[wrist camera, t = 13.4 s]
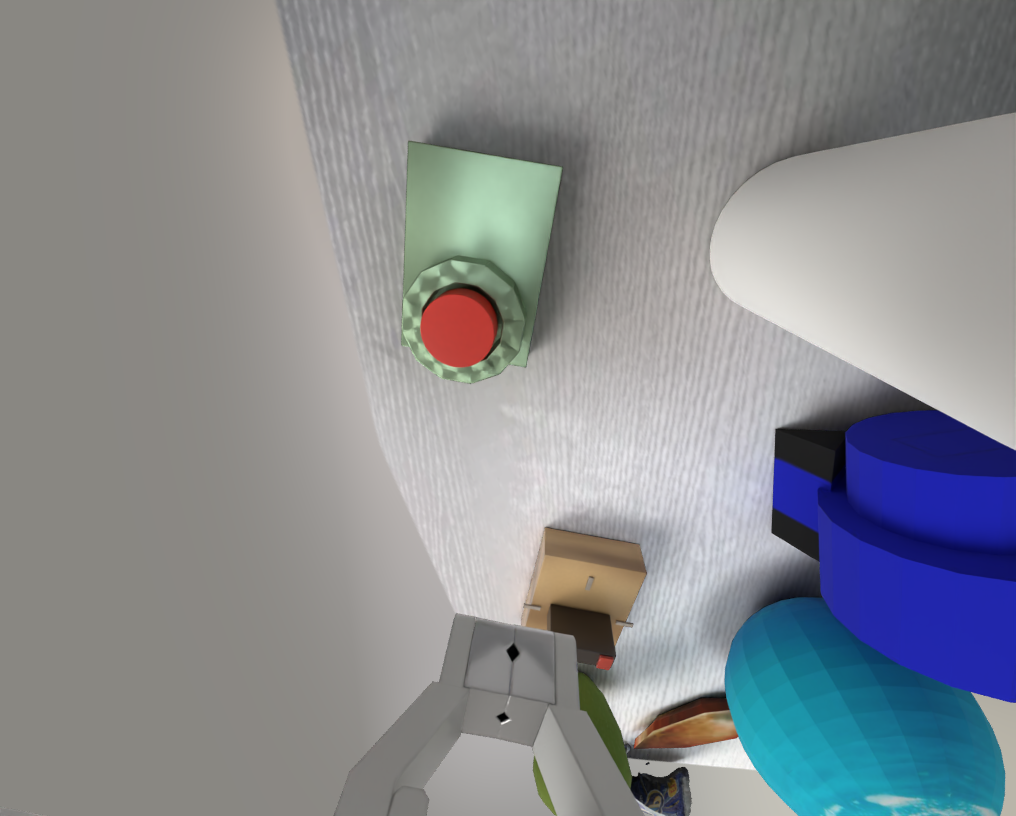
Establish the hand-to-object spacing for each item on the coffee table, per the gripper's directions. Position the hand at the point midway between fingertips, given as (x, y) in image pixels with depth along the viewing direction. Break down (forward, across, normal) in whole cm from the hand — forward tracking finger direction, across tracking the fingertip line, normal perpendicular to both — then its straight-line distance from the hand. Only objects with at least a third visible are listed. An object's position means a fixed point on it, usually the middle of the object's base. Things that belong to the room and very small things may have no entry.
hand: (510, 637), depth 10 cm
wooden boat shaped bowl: (+17, -24, +36) cm, 46 cm away
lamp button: (+16, +5, -3) cm, 17 cm away
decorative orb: (+20, -26, +19) cm, 38 cm away
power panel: (+20, -8, +20) cm, 29 cm away
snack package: (+16, -14, +45) cm, 50 cm away
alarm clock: (+20, -24, +3) cm, 32 cm away
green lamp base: (+20, +5, -6) cm, 21 cm away
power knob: (+17, -8, +20) cm, 27 cm away
